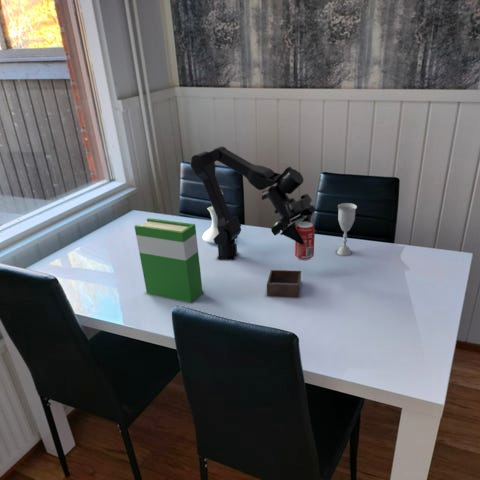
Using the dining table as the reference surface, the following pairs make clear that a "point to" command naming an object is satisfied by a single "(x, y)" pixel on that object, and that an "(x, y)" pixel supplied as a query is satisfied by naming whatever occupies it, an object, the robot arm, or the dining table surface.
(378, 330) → the dining table surface
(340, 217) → the chalice
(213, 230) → the flower in vase
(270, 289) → the crate
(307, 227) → the beverage can
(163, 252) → the hardback book
